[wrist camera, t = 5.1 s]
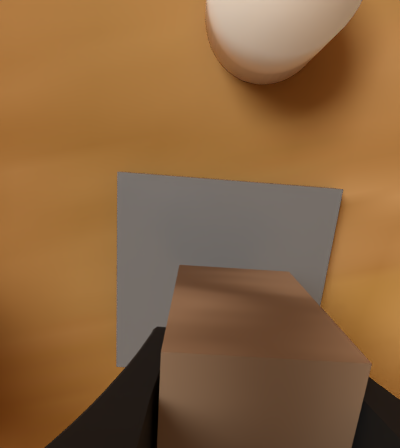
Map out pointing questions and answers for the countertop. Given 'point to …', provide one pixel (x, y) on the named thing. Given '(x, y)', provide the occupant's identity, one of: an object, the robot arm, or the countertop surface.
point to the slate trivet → (211, 239)
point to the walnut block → (255, 365)
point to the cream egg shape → (272, 34)
